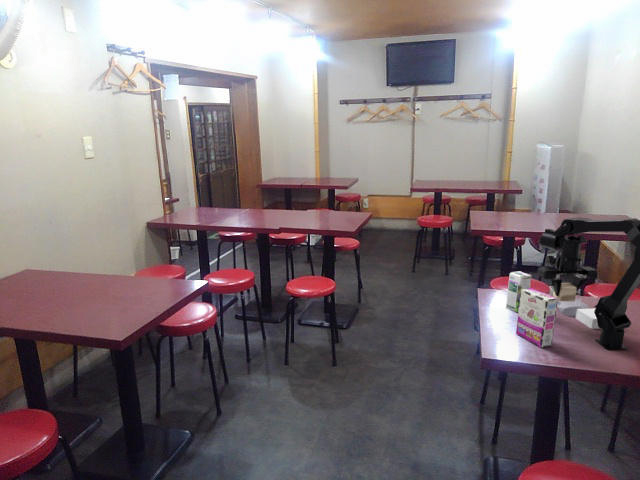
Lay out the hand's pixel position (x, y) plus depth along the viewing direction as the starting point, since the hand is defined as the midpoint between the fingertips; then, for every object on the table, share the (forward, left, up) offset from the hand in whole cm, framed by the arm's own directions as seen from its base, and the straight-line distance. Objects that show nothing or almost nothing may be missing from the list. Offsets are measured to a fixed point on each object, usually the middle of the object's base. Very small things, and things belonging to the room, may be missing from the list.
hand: (564, 295), depth 159 cm
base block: (+1, -13, -11) cm, 17 cm away
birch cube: (0, 0, -1) cm, 1 cm away
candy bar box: (-12, +15, -11) cm, 22 cm away
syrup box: (+14, +10, -11) cm, 20 cm away
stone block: (+13, -10, -11) cm, 20 cm away
